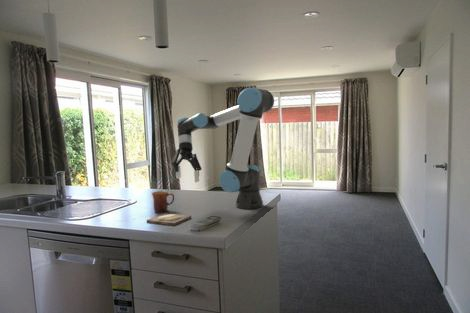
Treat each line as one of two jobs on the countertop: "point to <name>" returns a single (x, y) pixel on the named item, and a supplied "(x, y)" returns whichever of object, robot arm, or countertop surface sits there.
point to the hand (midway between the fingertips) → (188, 179)
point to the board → (169, 219)
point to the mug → (161, 201)
